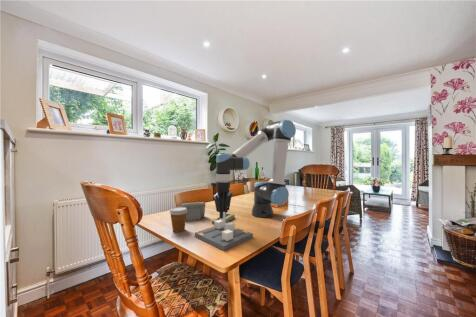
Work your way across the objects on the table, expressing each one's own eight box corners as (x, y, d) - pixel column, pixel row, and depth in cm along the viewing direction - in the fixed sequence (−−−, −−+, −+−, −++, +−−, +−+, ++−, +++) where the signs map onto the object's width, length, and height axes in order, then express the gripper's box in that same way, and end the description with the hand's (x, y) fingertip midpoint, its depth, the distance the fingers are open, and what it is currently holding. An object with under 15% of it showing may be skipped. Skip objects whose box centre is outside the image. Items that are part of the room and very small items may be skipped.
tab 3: (228, 236, 99) (228, 229, 98) (233, 238, 96) (233, 231, 96) (221, 239, 96) (221, 231, 96) (226, 241, 93) (226, 233, 93)
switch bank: (223, 226, 118) (223, 223, 118) (252, 237, 103) (252, 233, 103) (194, 236, 104) (194, 232, 104) (223, 250, 89) (223, 246, 89)
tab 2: (229, 228, 109) (229, 222, 109) (234, 230, 107) (234, 223, 107) (224, 230, 106) (224, 223, 106) (228, 232, 104) (228, 225, 104)
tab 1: (219, 225, 113) (219, 219, 113) (224, 227, 111) (224, 220, 111) (214, 227, 110) (214, 221, 110) (218, 229, 108) (218, 222, 108)
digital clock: (205, 216, 139) (205, 200, 139) (205, 220, 130) (205, 203, 130) (181, 217, 137) (181, 201, 137) (179, 221, 128) (179, 204, 128)
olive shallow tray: (224, 217, 138) (224, 212, 138) (234, 218, 134) (234, 213, 134) (211, 224, 124) (211, 219, 124) (222, 226, 120) (222, 220, 120)
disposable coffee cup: (165, 232, 110) (165, 210, 110) (176, 226, 119) (176, 205, 119) (180, 234, 107) (180, 211, 107) (190, 228, 116) (190, 207, 116)
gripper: (227, 179, 120) (226, 219, 120) (209, 181, 110) (209, 225, 111) (236, 181, 114) (235, 222, 115) (218, 183, 105) (218, 228, 105)
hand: (222, 223), depth 113 cm, fingers closed
